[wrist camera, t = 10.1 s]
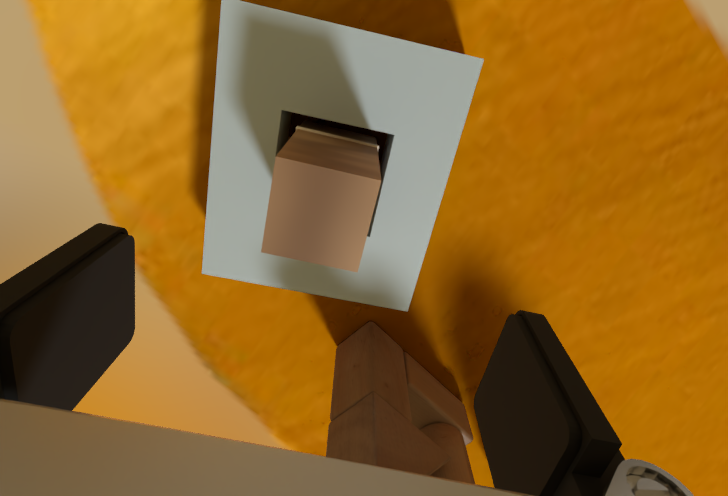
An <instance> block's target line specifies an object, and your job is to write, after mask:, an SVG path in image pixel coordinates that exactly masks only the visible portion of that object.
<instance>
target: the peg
mask: <svg viewBox="0 0 728 496" xmlns="http://www.w3.org/2000/svg"><path fill="white" fill-rule="evenodd" d="M378 149H379V145H377V142H376V137H372V136H367V135H363V134H359V133H355V132H351V131H347V130H342V129H338V128H334V127H330V126H326V125H321V124H317V123H313V122H309V121H305V120H304V121H303V123H302V124H301V125H300V126H296V131H295V133H294V134H293V135H292V136H291V138H290V139H289V140H288V141H287V143H286V144H285V145H284V146H283V148H282V149H281V150H280V152H279V153H278V154H277V155H276V157H275V164H274V170H273V177H272V184H271V190H270V197H269V203H268V210H267V216H266V223H265V229H264V236H263V242H262V249H261V252H262V253H266V254H271V255H276V256H281V257H286V258H290V259H295V260H300V261H305V262H310V263H314V264H319V265H324V266H329V267H334V268H338V269H343V270H348V271H353V272H357V273H358V269H359V265H360V261H361V257H362V254H363V250H364V246H365V242H366V238H367V234H368V230H369V227H370V223H371V219H372V215H373V211H374V207H375V203H376V200H377V196H378V192H379V188H380V184H381V174H380V166H379V158H378Z"/></svg>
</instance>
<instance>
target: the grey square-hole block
mask: <svg viewBox="0 0 728 496" xmlns="http://www.w3.org/2000/svg"><path fill="white" fill-rule="evenodd" d="M483 61H484V59H482V58H477V57H473V56H469V55H465V54H461V53H457V52H452V51H448V50H444V49H440V48H436V47H432V46H427V45H423V44H419V43H415V42H411V41H407V40H402V39H398V38H394V37H390V36H386V35H382V34H378V33H373V32H369V31H365V30H361V29H357V28H353V27H348V26H344V25H340V24H336V23H332V22H328V21H323V20H319V19H315V18H311V17H307V16H303V15H298V14H294V13H290V12H286V11H282V10H278V9H273V8H269V7H265V6H261V5H257V4H253V3H249V2H244V1H240V0H221V12H220V26H219V40H218V54H217V68H216V82H215V96H214V110H213V124H212V138H211V152H210V166H209V180H208V194H207V208H206V222H205V236H204V250H203V264H202V274H207V275H212V276H218V277H223V278H228V279H234V280H239V281H245V282H250V283H255V284H261V285H266V286H272V287H277V288H282V289H288V290H293V291H299V292H304V293H309V294H315V295H320V296H326V297H331V298H336V299H342V300H347V301H353V302H358V303H363V304H369V305H374V306H380V307H385V308H390V309H396V310H401V311H407V312H408V309H409V305H410V302H411V299H412V295H413V292H414V289H415V286H416V282H417V279H418V276H419V272H420V269H421V266H422V262H423V259H424V256H425V252H426V249H427V246H428V243H429V239H430V236H431V233H432V229H433V226H434V223H435V219H436V216H437V213H438V209H439V206H440V203H441V200H442V196H443V193H444V190H445V186H446V183H447V180H448V176H449V173H450V170H451V167H452V163H453V160H454V157H455V153H456V150H457V147H458V143H459V140H460V137H461V133H462V130H463V127H464V124H465V120H466V117H467V114H468V110H469V107H470V104H471V100H472V97H473V94H474V90H475V87H476V84H477V81H478V77H479V74H480V71H481V67H482V64H483ZM292 112H293V113H298V114H302V115H307V116H312V117H316V118H321V119H325V120H330V121H334V122H339V123H343V124H348V125H352V126H357V127H361V128H366V129H370V130H375V131H380V132H384V133H388V134H387V138H386V142H385V147H384V151H383V155H382V159H381V164H380V174H381V184H380V188H379V192H378V196H377V200H376V203H375V207H374V211H373V215H372V219H371V223H370V227H369V230H368V234H367V238H366V242H365V246H364V250H363V254H362V257H361V261H360V265H359V269H358V273H357V272H353V271H348V270H343V269H338V268H334V267H329V266H324V265H319V264H314V263H310V262H305V261H300V260H295V259H290V258H286V257H281V256H276V255H271V254H266V253H262V252H261V249H262V242H263V236H264V229H265V223H266V216H267V210H268V203H269V197H270V190H271V184H272V177H273V170H274V164H275V157H276V155H277V154H278V153H279V152H280V150H281V149H282V148H283V146H284V145H285V144H286V143H287V141H288V136H289V129H290V122H291V115H292Z"/></svg>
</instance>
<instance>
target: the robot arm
mask: <svg viewBox="0 0 728 496" xmlns="http://www.w3.org/2000/svg"><path fill="white" fill-rule="evenodd" d="M134 330H135V242H134V238H133V236H130V235H128V232H127V230H126V229H125V228H121V227H116V226H111V225H107V224H102V223H99V224H96V225H94V226H93V227H91V228H89V229H88V230H86V231H85V232H83V233H82V234H80V235H78V236H77V237H75V238H73V239H72V240H70V241H69V242H67V243H65V244H64V245H63V246H61V247H59V248H57V249H56V250H55V251H53V252H51V253H50V254H48V255H46V256H45V257H43V258H42V259H40V260H38V261H37V262H35V263H34V264H32V265H30V266H29V267H27V268H26V269H24V270H23V271H21V272H19V273H18V274H16V275H14V276H13V277H11V278H10V279H8V280H6V281H5V282H4V283H2V284H0V496H693V494H692V493H691V492H690V491H689V490H688V489H687V488H686V487H685V486H684V485H683V484H682V483H681V482H680V481H679V480H677V479H676V478H674V477H673V476H672V475H670V474H669V473H668V472H666V471H664V470H663V469H661V468H659V467H657V466H655V465H653V464H651V463H648V462H645V461H642V460H636V459H628V460H625V459H624V457H623V456H622V454H621V452H620V451H619V448H620V447H621V445H622V443H621V441H620V440H619V438H618V437H617V435H616V433H615V432H614V430H613V428H612V427H611V425H610V423H609V422H608V420H607V418H606V417H605V415H604V413H603V412H602V410H601V408H600V407H599V405H598V404H597V402H596V400H595V399H594V397H593V395H592V394H591V392H590V390H589V389H588V387H587V385H586V384H585V382H584V380H583V379H582V377H581V375H580V374H579V372H578V371H577V369H576V367H575V366H574V364H573V362H572V361H571V359H570V357H569V356H568V354H567V352H566V351H565V349H564V347H563V346H562V344H561V342H560V341H559V339H558V337H557V336H556V334H555V333H554V331H553V329H552V328H551V326H550V324H549V323H548V321H547V319H546V318H545V316H544V315H542V314H537V313H532V312H527V311H522V310H520V311H518V312H517V313H516V314H515V315H514V314H511V315H509V317H508V318H507V320H506V323H505V325H504V328H503V330H502V332H501V335H500V337H499V339H498V342H497V344H496V347H495V349H494V351H493V354H492V356H491V359H490V361H489V363H488V366H487V368H486V370H485V373H484V375H483V378H482V380H481V382H480V385H479V387H478V390H477V392H476V395H475V399H474V409H475V413H476V417H477V421H478V425H479V429H480V433H481V437H482V440H483V444H484V448H485V452H486V456H487V460H488V464H489V468H490V471H491V475H492V479H493V483H494V487H495V488H492V487H486V486H481V485H476V484H470V483H465V482H460V481H454V480H449V479H444V478H438V477H433V476H428V475H423V474H417V473H412V472H407V471H401V470H396V469H390V468H385V467H379V466H374V465H369V464H363V463H358V462H352V461H347V460H341V459H336V458H331V457H325V456H320V455H314V454H309V453H303V452H298V451H292V450H287V449H281V448H276V447H270V446H264V445H259V444H254V443H248V442H243V441H237V440H232V439H226V438H221V437H215V436H210V435H204V434H199V433H193V432H187V431H181V430H176V429H171V428H165V427H160V426H154V425H149V424H143V423H137V422H131V421H125V420H120V419H114V418H108V417H103V416H98V415H92V414H86V413H81V412H75V411H72V410H73V409H74V407H75V406H76V405H77V404H78V403H79V402H80V401H81V399H82V398H83V397H84V396H85V395H86V393H87V392H88V391H89V390H90V389H91V388H92V386H93V385H94V384H95V383H96V382H97V380H98V379H99V378H100V377H101V376H102V375H103V373H104V372H105V371H106V370H107V369H108V367H109V366H110V365H111V364H112V363H113V362H114V360H115V359H116V358H117V357H118V356H119V354H120V353H121V352H122V351H123V350H124V349H125V347H126V346H127V345H128V344H129V342H130V341H131V339H132V337H133V334H134Z"/></svg>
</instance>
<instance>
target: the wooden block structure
mask: <svg viewBox="0 0 728 496" xmlns="http://www.w3.org/2000/svg"><path fill="white" fill-rule="evenodd" d="M330 419H331V421H332V422H331V423H330V424H329V430H328V441H327V452H326V457H331V458H336V459H341V460H347V461H352V462H358V463H363V464H369V465H374V466H379V467H385V468H390V469H396V470H401V471H407V472H412V473H417V474H423V475H428V476H433V477H438V478H444V479H449V480H454V481H460V482H465V483H470V484H475V482H474V478H473V474H472V470H471V466H470V462H469V458H468V454H467V450H466V445H467V444H469V443H470V442H472V440H473V435H472V432H471V428H470V424H469V421H468V417H467V414H466V410H465V406H464V404H463V403H462V402H461V401H460V400H458V399H457V398H456V397H455V396H454V395H453V394H452V393H451V392H450V391H449V390H447V389H446V388H445V387H444V386H443V385H442V384H441V383H440V382H439V381H438V380H436V379H435V378H434V377H433V376H432V375H431V374H430V373H429V372H428V371H427V370H425V369H424V368H423V367H422V366H421V365H420V364H419V363H418V362H417V361H416V360H414V359H413V358H412V357H411V356H410V355H409V354H408V353H407V352H403V350H402V348H401V347H400V346H399V345H398V344H397V343H396V342H395V341H394V340H393V339H391V338H390V337H389V336H388V335H387V334H386V333H385V332H384V331H383V330H382V329H380V328H379V327H378V326H377V325H376V324H375V323H374V322H372V321H370V322H368V323H366V324H365V325H364V326H363V327H361V328H360V329H359V330H357V331H356V332H355V333H354V334H352V335H351V336H350V337H348V338H347V339H346V340H345V341H343V342H342V343H341V344H339V345H338V347H337V349H336V359H335V370H334V380H333V391H332V402H331V413H330Z"/></svg>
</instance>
